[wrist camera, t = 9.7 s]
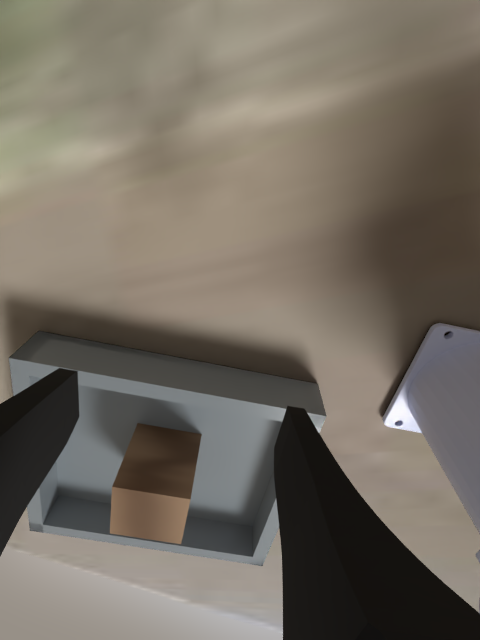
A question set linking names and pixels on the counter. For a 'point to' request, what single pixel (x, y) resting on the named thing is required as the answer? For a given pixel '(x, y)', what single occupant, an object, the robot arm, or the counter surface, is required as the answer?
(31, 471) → the robot arm
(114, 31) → the counter surface
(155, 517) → the block
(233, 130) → the counter surface
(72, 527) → the bin
